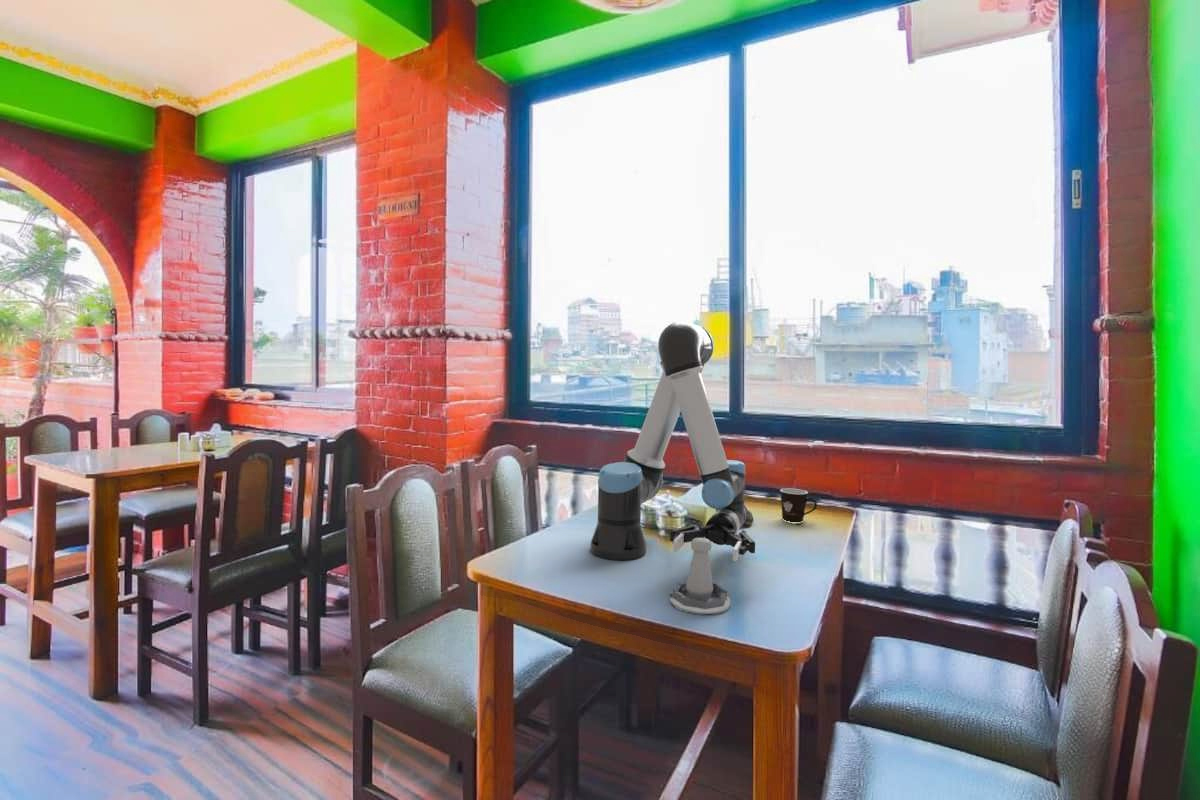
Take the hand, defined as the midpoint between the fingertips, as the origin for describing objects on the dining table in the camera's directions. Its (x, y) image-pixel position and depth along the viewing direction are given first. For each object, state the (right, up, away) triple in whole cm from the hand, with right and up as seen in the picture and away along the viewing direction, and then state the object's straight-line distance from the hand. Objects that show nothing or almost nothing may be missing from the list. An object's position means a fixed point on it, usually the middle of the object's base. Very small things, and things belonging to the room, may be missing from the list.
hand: (704, 551), depth 134 cm
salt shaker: (-2, -9, -5) cm, 11 cm away
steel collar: (-2, -10, -5) cm, 11 cm away
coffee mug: (+41, -6, +62) cm, 74 cm away
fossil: (+21, -6, +58) cm, 62 cm away
